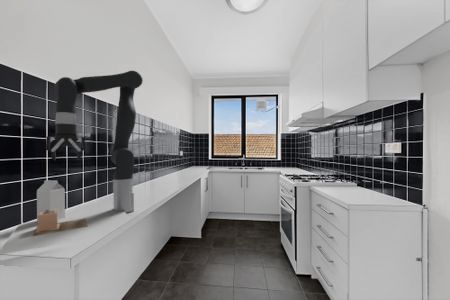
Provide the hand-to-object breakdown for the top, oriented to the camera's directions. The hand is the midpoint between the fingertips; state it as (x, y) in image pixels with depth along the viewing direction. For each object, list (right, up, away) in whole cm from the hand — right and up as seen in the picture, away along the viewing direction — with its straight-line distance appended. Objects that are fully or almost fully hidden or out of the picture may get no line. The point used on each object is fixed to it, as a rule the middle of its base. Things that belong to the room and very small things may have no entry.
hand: (66, 160), depth 98 cm
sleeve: (+1, -26, -11) cm, 28 cm away
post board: (+4, -28, -8) cm, 30 cm away
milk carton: (-8, -28, +1) cm, 30 cm away
